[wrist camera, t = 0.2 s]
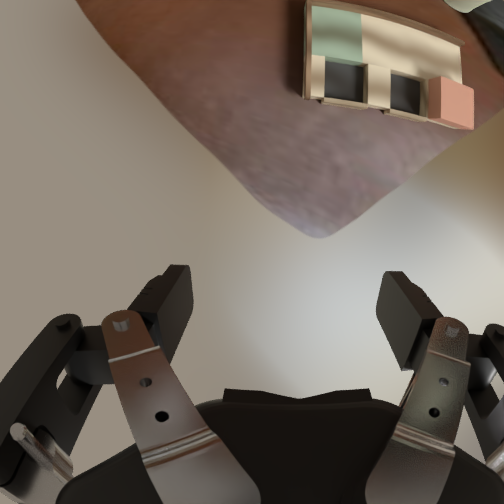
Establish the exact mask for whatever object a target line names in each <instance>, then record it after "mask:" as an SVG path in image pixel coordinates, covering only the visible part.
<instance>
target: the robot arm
mask: <svg viewBox="0 0 504 504" xmlns="http://www.w3.org/2000/svg"><path fill="white" fill-rule="evenodd" d="M192 310H193V292H192V282H191V272H190V267H189V265H173V264H172V265H170V266H169V267H168V269H167V270H166V271H165V272H164V274H163V275H158V276H156V277H155V278H153V279H151V280H150V281H149V282H148V283H147V284H146V286H145V287H144V289H142V291H141V292H140V294H139V295H138V296H137V297H136V298H135V300H134V301H133V302H132V304H131V305H130V306H129V307H128V309H127V310H120V311H116V312H113V313H111V314H109V315H108V316H106V317H105V318H104V319H103V321H102V324H101V325H99V326H86V327H85V326H84V327H83V325H82V322H81V319H80V317H79V316H77V315H75V314H63V315H60V316H57V317H56V318H54V319H52V320H51V321H50V322H49V323H48V324H47V325H46V327H45V328H44V329H43V330H42V331H41V332H40V334H39V335H38V336H37V337H36V338H35V339H34V341H33V342H32V343H31V344H30V345H29V347H28V348H27V349H26V350H25V351H24V353H23V354H22V355H21V356H20V358H19V359H18V360H17V362H16V363H15V364H14V365H13V367H12V368H11V369H10V370H9V372H8V373H7V374H6V376H5V377H4V379H3V380H2V381H1V383H0V492H1V493H3V494H4V495H5V496H7V497H8V498H9V499H11V500H12V501H14V502H17V503H19V504H504V395H503V398H502V399H501V400H500V401H499V399H498V397H497V395H496V393H495V391H494V389H493V387H492V386H491V384H490V383H491V381H492V380H493V378H494V376H495V375H496V373H497V372H498V373H499V375H500V377H501V378H502V380H503V382H504V327H503V326H501V325H498V324H489V325H487V326H486V328H485V330H484V333H483V335H476V334H469V331H468V328H467V327H466V326H465V325H464V324H463V323H462V322H461V321H459V320H457V319H455V318H451V317H444V316H443V315H442V314H441V312H440V311H439V310H438V309H437V307H436V306H435V305H434V304H433V302H431V300H430V298H429V297H427V295H426V293H425V292H424V291H423V290H422V289H421V288H420V287H418V286H417V285H415V284H414V283H412V282H411V281H410V280H409V279H408V277H407V276H406V275H405V274H404V273H403V272H402V271H386V272H385V273H384V275H383V278H382V283H381V287H380V292H379V296H378V300H377V305H376V315H377V318H378V321H379V323H380V325H381V327H382V329H383V331H384V333H385V335H386V337H387V340H388V341H389V344H390V346H391V348H392V351H393V353H394V355H395V357H396V359H397V362H398V364H399V366H400V368H401V371H407V370H414V374H413V376H412V378H411V380H410V382H409V385H408V387H407V389H406V391H405V394H404V396H403V398H402V400H401V402H400V404H399V406H397V405H394V404H392V403H389V402H386V401H383V400H378V399H372V397H371V393H370V390H369V388H368V389H355V390H340V391H333V392H329V393H325V394H320V395H317V396H312V397H307V398H302V399H296V398H292V397H287V396H281V395H277V394H273V393H268V392H264V391H254V390H238V389H225V390H224V395H223V399H217V400H212V401H208V402H204V403H201V404H198V405H196V406H194V404H193V403H192V401H191V399H190V398H189V396H188V395H187V393H186V392H185V390H184V388H183V386H182V385H181V383H180V382H179V380H178V378H177V376H176V375H175V373H174V371H173V369H172V368H171V366H170V363H171V361H172V358H173V356H174V354H175V351H176V349H177V347H178V344H179V342H180V340H181V337H182V335H183V332H184V330H185V328H186V326H187V323H188V321H189V318H190V316H191V314H192ZM64 368H65V370H66V373H67V375H66V376H65V378H64V380H63V381H62V383H61V384H60V386H59V388H58V389H57V387H56V383H57V379H58V376H59V375H60V373H61V372H62V370H63V369H64ZM103 384H115V386H116V389H117V392H118V395H119V398H120V401H121V404H122V407H123V410H124V413H125V415H126V418H127V421H128V424H129V426H130V429H131V431H132V434H133V437H134V439H135V441H136V443H134V444H133V445H131V446H130V447H128V448H126V449H124V450H123V451H122V452H119V453H118V454H116V455H115V456H113V457H111V458H109V459H107V460H106V461H104V462H102V463H100V464H98V465H97V466H95V467H93V468H91V469H89V470H87V471H85V472H84V473H81V474H80V475H78V476H76V477H73V475H72V473H73V464H72V461H71V459H70V458H69V456H70V454H71V452H72V449H73V447H74V445H75V442H76V440H77V438H78V436H79V433H80V431H81V429H82V427H83V425H84V423H85V420H86V418H87V416H88V414H89V412H90V410H91V408H92V406H93V404H94V402H95V399H96V397H97V395H98V393H99V391H100V389H101V387H102V385H103ZM463 406H465V408H466V411H467V413H468V416H469V418H470V420H471V423H472V425H473V428H474V430H475V433H476V436H477V439H478V441H479V444H480V447H481V450H482V453H483V456H484V459H485V461H486V464H483V463H481V462H480V461H478V460H477V459H475V458H474V457H472V456H471V455H469V454H467V453H466V452H464V451H463V450H462V449H460V448H458V447H457V446H456V445H454V441H455V438H456V435H457V431H458V427H459V423H460V419H461V415H462V410H463Z"/></svg>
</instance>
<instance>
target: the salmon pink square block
mask: <svg viewBox="0 0 504 504" xmlns="http://www.w3.org/2000/svg"><path fill="white" fill-rule="evenodd" d="M428 80H429V107H428V119H430V120H434V121H437V122H440V123H443V124H447V125H450V126H453V127H456V128H459V129H471V130H473V128H474V89H472V88H469V87H467V86H465V85H462V84H460V83H458V82H455V81H453V80H450V79H448V78H445V77H442V76H439V77H435V78H432V79H428Z"/></svg>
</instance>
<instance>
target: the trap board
mask: <svg viewBox="0 0 504 504" xmlns="http://www.w3.org/2000/svg"><path fill="white" fill-rule="evenodd" d="M463 45H465V42H464V41H462V40H460V39H458V38H456V37H454V36H451V35H449V34H447V33H444V32H442V31H440V30H437V29H435V28H432V27H430V26H427V25H425V24H422V23H419V22H416V21H413V20H410V19H407V18H404V17H401V16H398V15H395V14H391V13H388V12H384V11H381V10H377V9H373V8H369V7H365V6H360V5H356V4H351V3H346V2H340V1H334V0H306V2H305V6H304V62H303V95H302V98H304V100H309V99H319V100H321V104H326V105H333V106H341V107H347V108H354V109H360V110H364V109H367V108H368V107H371V108H377V109H382V110H384V114H386V115H391V116H395V117H400V118H404V119H408V120H412V121H416V122H426V120H427V121H430V122H434V123H437V124H441V125H444V126H447V127H450V128H453V129H459V128H456V127H453V126H450V125H447V124H443V123H440V122H437V121H434V120H430V119H428V107H429V80H428V79H432V78H435V77H439V76H442V77H445V78H448V79H450V80H453V81H455V82H458V83H460V84H462V72H461V58H460V48H459V47H460V46H463Z"/></svg>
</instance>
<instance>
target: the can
mask: <svg viewBox="0 0 504 504" xmlns="http://www.w3.org/2000/svg"><path fill="white" fill-rule="evenodd" d="M443 1H444V2H446V3H447V4H448V5H449V6H451V7H452V8H454V9H455V10H458V11H460V12H465V13H467V12H470V11H471V10H472V9H474V8H476V7H478V6H480V5H482V4H484V3H486V2H489V1H491V0H443Z"/></svg>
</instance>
